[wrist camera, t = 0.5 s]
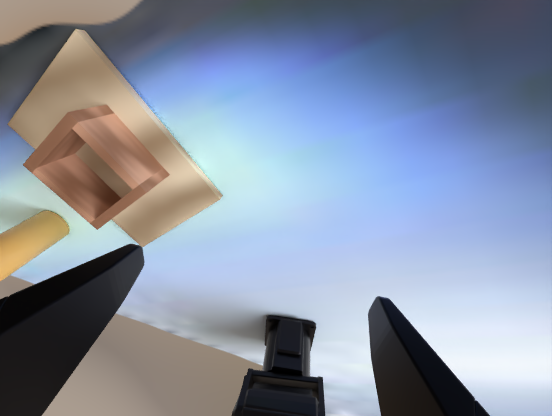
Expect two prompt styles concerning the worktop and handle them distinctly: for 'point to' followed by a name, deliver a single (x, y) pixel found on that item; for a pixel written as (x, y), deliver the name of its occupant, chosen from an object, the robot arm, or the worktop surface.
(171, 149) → the beige board with box
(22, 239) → the orange tapered piece
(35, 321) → the robot arm
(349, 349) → the worktop surface
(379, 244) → the worktop surface
